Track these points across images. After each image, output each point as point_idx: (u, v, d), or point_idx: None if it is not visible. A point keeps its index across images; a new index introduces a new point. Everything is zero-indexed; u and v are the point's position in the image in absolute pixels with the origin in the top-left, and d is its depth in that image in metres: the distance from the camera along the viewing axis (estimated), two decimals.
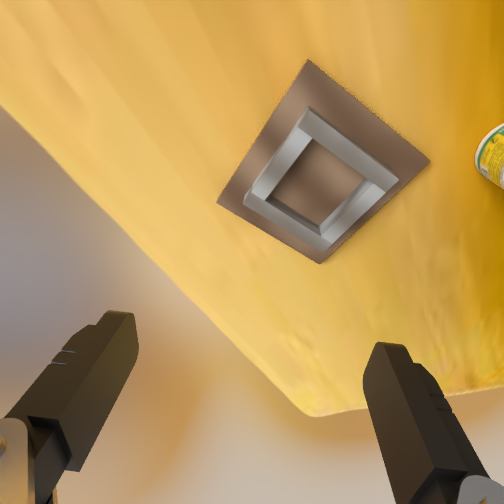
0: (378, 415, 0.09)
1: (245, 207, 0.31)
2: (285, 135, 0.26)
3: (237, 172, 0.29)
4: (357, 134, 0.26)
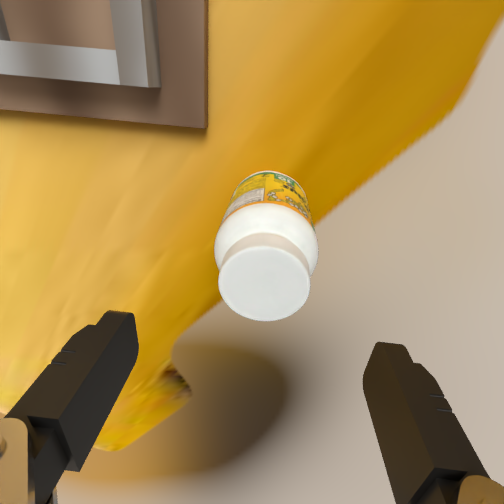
0: (378, 415, 0.09)
1: None
2: None
3: None
4: None
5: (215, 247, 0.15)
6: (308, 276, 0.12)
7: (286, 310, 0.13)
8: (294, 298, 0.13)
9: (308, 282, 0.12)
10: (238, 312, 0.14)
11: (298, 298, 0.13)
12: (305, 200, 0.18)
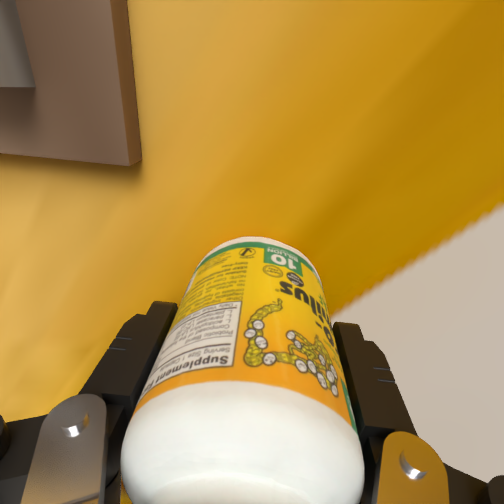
0: None
1: None
2: None
3: None
4: None
5: (121, 464, 0.06)
6: None
7: None
8: None
9: None
10: None
11: None
12: (323, 303, 0.09)
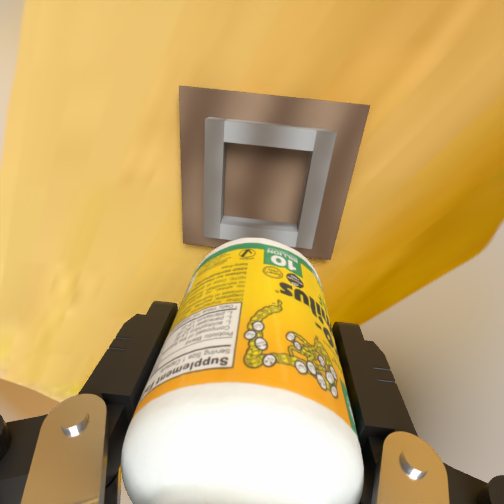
0: None
1: (195, 126, 0.24)
2: (295, 124, 0.24)
3: (230, 93, 0.23)
4: (326, 190, 0.26)
5: (121, 465, 0.06)
6: None
7: None
8: None
9: None
10: None
11: None
12: (322, 304, 0.09)
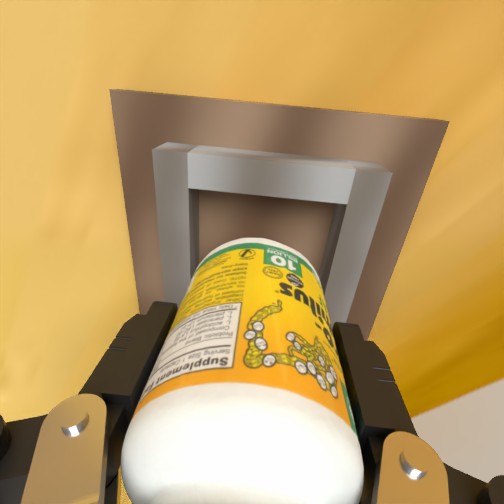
0: None
1: (144, 157, 0.14)
2: (314, 154, 0.14)
3: (200, 101, 0.13)
4: None
5: (121, 465, 0.06)
6: None
7: None
8: None
9: None
10: None
11: None
12: (322, 304, 0.09)
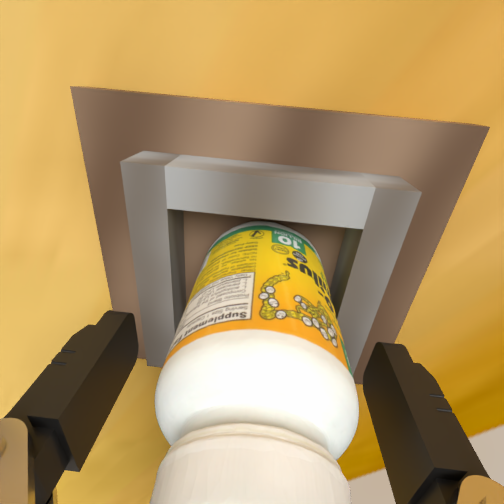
0: (378, 415, 0.09)
1: (116, 168, 0.12)
2: (322, 166, 0.11)
3: (182, 101, 0.11)
4: None
5: (155, 403, 0.08)
6: None
7: None
8: None
9: None
10: None
11: None
12: (323, 279, 0.11)
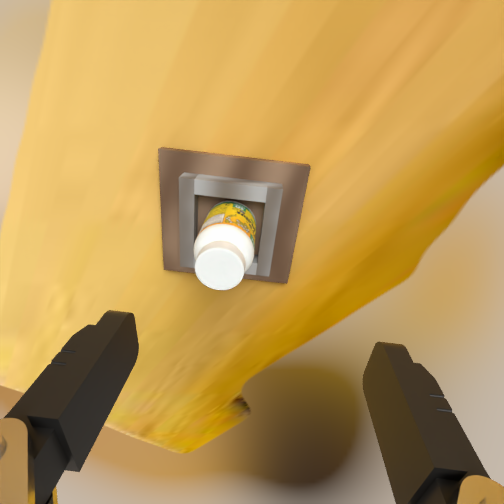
0: (378, 415, 0.09)
1: (172, 178, 0.30)
2: (252, 179, 0.30)
3: (200, 155, 0.29)
4: (280, 229, 0.32)
5: (194, 248, 0.26)
6: (242, 264, 0.23)
7: (232, 283, 0.24)
8: (236, 276, 0.24)
9: (242, 267, 0.23)
10: (205, 284, 0.24)
11: (238, 276, 0.24)
12: (251, 220, 0.29)
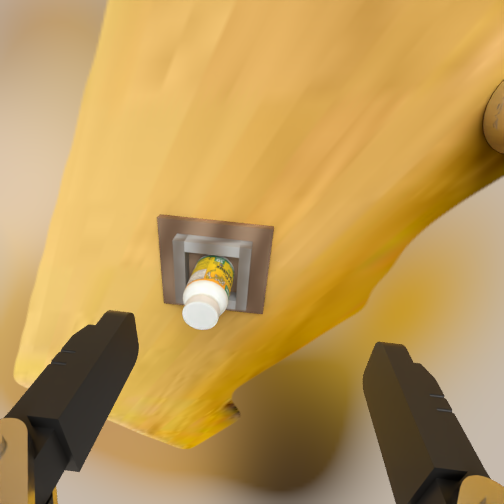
0: (378, 415, 0.09)
1: (168, 238, 0.39)
2: (229, 238, 0.38)
3: (188, 221, 0.38)
4: (253, 274, 0.41)
5: (183, 297, 0.35)
6: (216, 312, 0.32)
7: (210, 325, 0.33)
8: (212, 320, 0.33)
9: (216, 315, 0.32)
10: (191, 325, 0.33)
11: (214, 320, 0.33)
12: (228, 271, 0.38)
